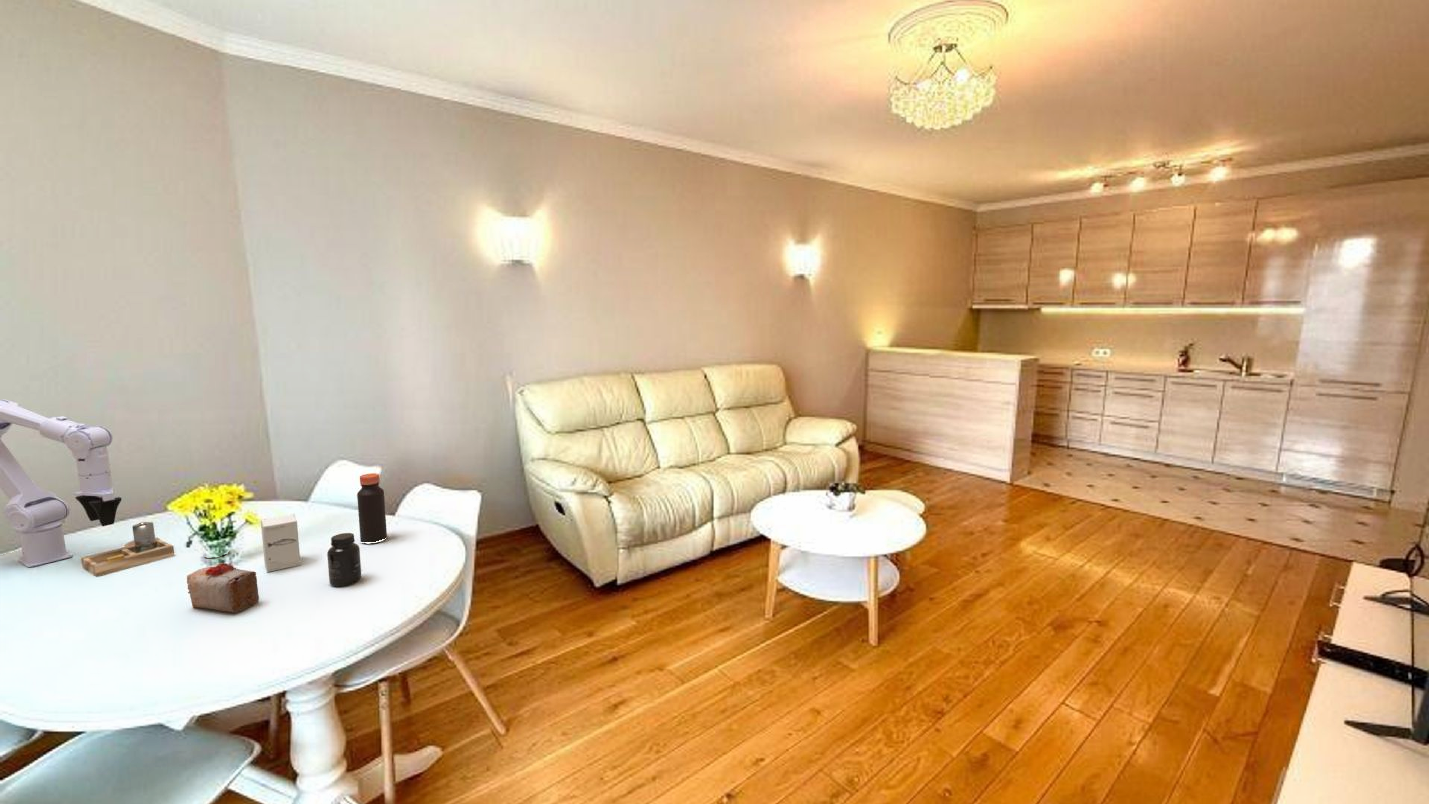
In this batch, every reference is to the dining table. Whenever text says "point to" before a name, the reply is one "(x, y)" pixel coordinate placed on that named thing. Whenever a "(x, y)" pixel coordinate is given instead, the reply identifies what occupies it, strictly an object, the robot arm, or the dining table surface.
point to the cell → (144, 536)
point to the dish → (132, 543)
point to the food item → (223, 588)
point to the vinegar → (371, 509)
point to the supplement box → (280, 542)
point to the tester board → (125, 558)
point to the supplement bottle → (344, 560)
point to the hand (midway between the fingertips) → (102, 522)
